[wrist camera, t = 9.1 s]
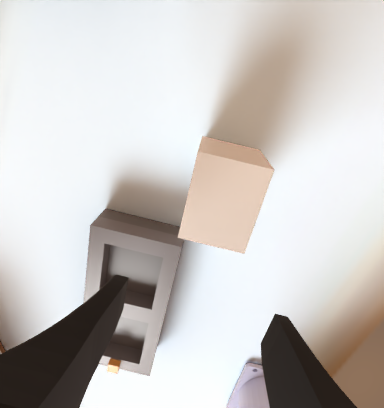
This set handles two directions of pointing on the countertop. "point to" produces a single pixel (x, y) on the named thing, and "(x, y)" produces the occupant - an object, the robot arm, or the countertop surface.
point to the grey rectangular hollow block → (133, 282)
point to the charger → (225, 194)
